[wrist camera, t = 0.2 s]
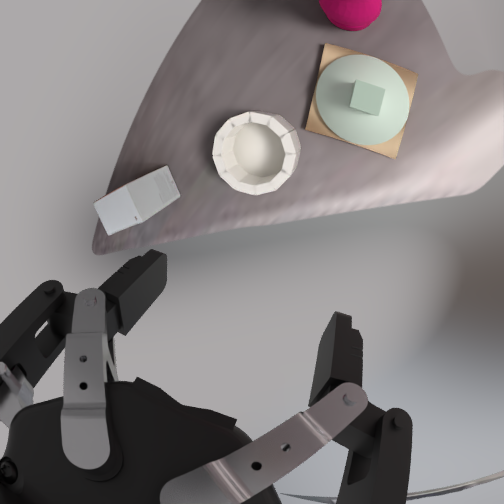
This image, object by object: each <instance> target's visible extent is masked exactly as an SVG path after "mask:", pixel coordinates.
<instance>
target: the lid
mask: <svg viewBox="0 0 504 504" xmlns="http://www.w3.org/2000/svg"><path fill="white" fill-rule="evenodd" d="M316 102H317V107H318V110H319V113H320V115H321V117H322V119H323V120H324V122H325V123H326V125H327V126H328V127H329V128H330V129H331V130H332V131H333V132H334V133H335V134H337V135H338V136H340V137H341V138H343V139H345V140H347V141H349V142H352V143H355V144H360V145H376V144H380V143H383V142H386V141H388V140H390V139H391V138H393V137H394V136H395V135H397V134H398V133H399V132H400V130H401V129H402V128H403V126H404V124H405V122H406V120H407V117H408V114H409V96H408V92H407V89H406V86H405V84H404V82H403V80H402V79H401V77H400V76H399V75H398V73H397V72H396V71H395V70H394V69H393V68H392V67H391V66H389V65H388V64H386V63H385V62H383V61H381V60H380V59H377V58H375V57H371V56H368V55H348V56H344V57H341V58H339V59H337V60H335V61H333V62H332V63H331V64H330V65H328V66H327V67H326V69H325V70H324V71H323V72H322V74H321V76H320V78H319V80H318V83H317V88H316Z"/></svg>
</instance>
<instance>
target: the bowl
mask: <svg viewBox="0 0 504 504" xmlns="http://www.w3.org/2000/svg"><path fill="white" fill-rule="evenodd" d="M294 129H295V128H294V127H293V126H292V125H291V124H289V123H288V122H287V121H286V120H285V119H284V118H283V117H282V116H279V115H277V114H273V113H268V112H264V111H252V112H246V113H244V114H241V115H238V116H235V117H232V118H229V119H228V120H227V121H226V123H225V124H224V125H223V126H222V127H221V129H220V130H219V131H218V132H217V134H216V136H215V140H214V146H213V153H212V155H214V156H212V157H213V160H214V162H215V165H216V168H217V171H218V173H219V175H220V174H221V175H220V177H221V178H223V179H224V180H225V181H226V182H227V183H228V184H229V185H230V186H231V187H232V188H233V189H235V188H236V190H237V191H241V192H245V193H248V194H252V195H255V194H256V195H259V194H263V193H267V192H271V191H275V190H277V189H278V188H279V187H280V186H281V185H282V184H283V183H284V182H285V181H286V180H287V179H288V178H289V177H290V176H291V175H292V173H293V172H294V170H295V169H296V167H297V164H298V160H299V156H300V152H301V149H300V148H301V145H300V142H299V139H298V136H297V133H296V130H294Z"/></svg>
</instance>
